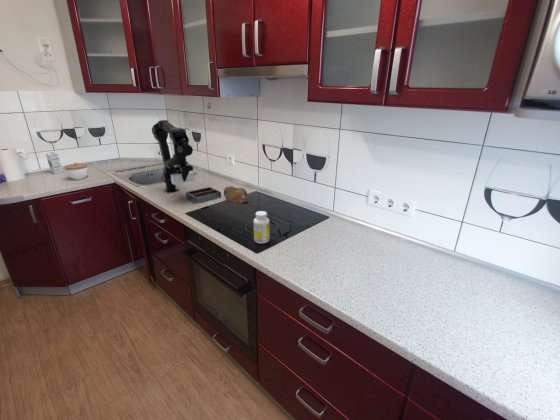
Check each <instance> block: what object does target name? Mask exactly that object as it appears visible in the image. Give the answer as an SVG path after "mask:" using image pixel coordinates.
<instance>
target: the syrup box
mask: <svg viewBox="0 0 560 420" xmlns="http://www.w3.org/2000/svg"><path fill="white" fill-rule="evenodd" d="M45 155H46V160H47V163H48V166H49V169H50V173H51V174H54V175H58V174H63V173H64V170H63V166H62V163H61V159H60V157H59V153H57V152H54V151H53V152H47V153H45Z"/></svg>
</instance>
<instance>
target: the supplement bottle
mask: <svg viewBox="0 0 560 420" xmlns="http://www.w3.org/2000/svg"><path fill="white" fill-rule="evenodd" d="M267 216H268V213H267V211H264V210H258V211H256V212H255V218H253V241H254V242H255V243H257V244H266V243H268V242H270V219H269V218H268V217H267Z"/></svg>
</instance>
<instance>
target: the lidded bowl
mask: <svg viewBox="0 0 560 420" xmlns="http://www.w3.org/2000/svg"><path fill="white" fill-rule="evenodd" d="M64 168H65V172H66V173H67V176H69V178H71V179H72V180H74V181H79V180H83V179H85V178H86V177H87V176H88V174H89V173H88V172H89V171H88V170H89V169H88V165H87V163H82V162H81V163H77V162H74V163H72V164H68V165H65V167H64Z"/></svg>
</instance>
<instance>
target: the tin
mask: <svg viewBox="0 0 560 420" xmlns="http://www.w3.org/2000/svg"><path fill="white" fill-rule="evenodd" d="M223 196H224V198H225V199H226V200H228V201H230V202H234V203H239V204H241V203H244V202H247V200H248V196H249V195H248V192H247V191H246V189H245V188H243V187H239V186H238V187H237V186H232V185H229V186H226V187H225V188H224V189H223Z"/></svg>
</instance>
